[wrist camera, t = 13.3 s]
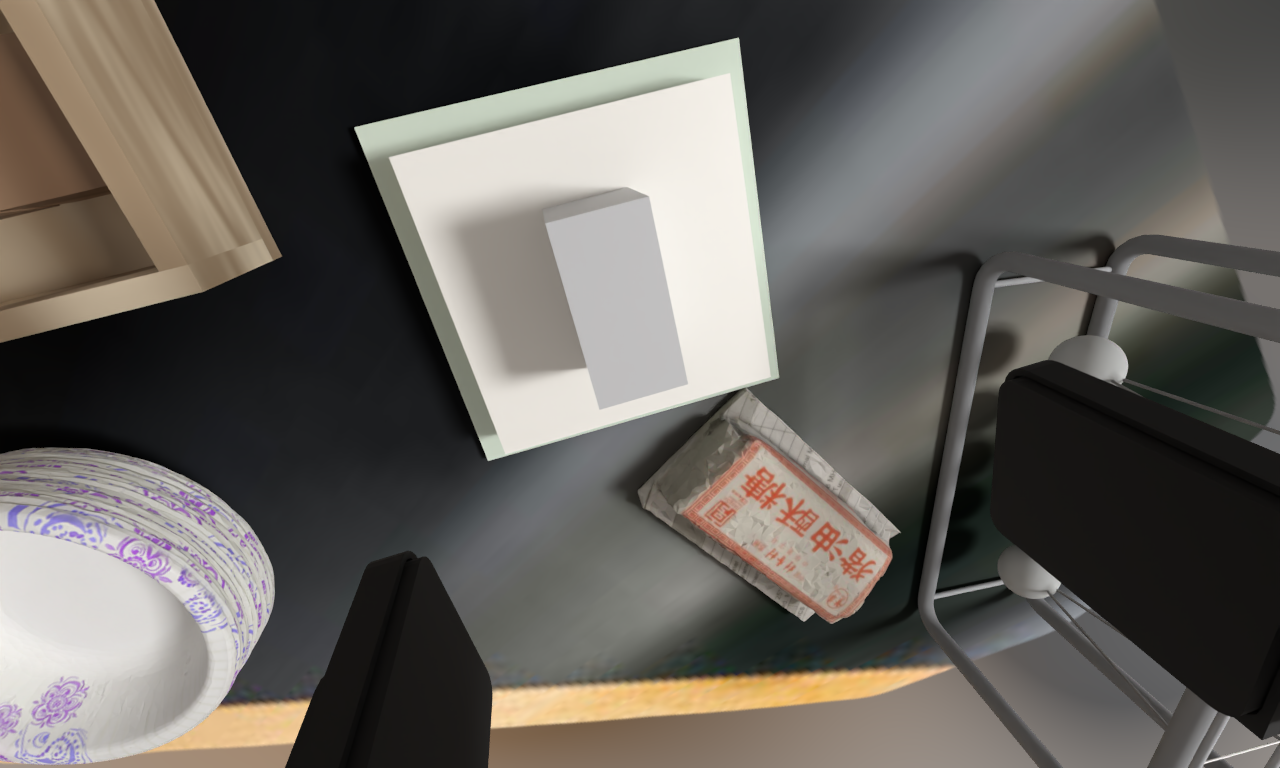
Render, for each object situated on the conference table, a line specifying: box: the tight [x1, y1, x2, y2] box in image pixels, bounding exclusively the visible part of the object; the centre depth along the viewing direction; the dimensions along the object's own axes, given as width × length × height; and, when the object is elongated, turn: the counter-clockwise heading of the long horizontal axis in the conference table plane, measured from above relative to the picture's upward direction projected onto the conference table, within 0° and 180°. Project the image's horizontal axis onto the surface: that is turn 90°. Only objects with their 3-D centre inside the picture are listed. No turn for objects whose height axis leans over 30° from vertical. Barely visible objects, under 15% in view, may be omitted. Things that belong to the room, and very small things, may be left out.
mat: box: [354, 38, 779, 461], centre depth 29 cm, size 18×18×1 cm
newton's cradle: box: [918, 235, 1280, 768], centre depth 32 cm, size 30×10×18 cm, turn 4°
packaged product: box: [638, 387, 901, 624], centre depth 36 cm, size 18×5×10 cm
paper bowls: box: [0, 448, 275, 765], centre depth 27 cm, size 15×15×8 cm
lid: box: [389, 73, 771, 454], centre depth 26 cm, size 15×15×8 cm
